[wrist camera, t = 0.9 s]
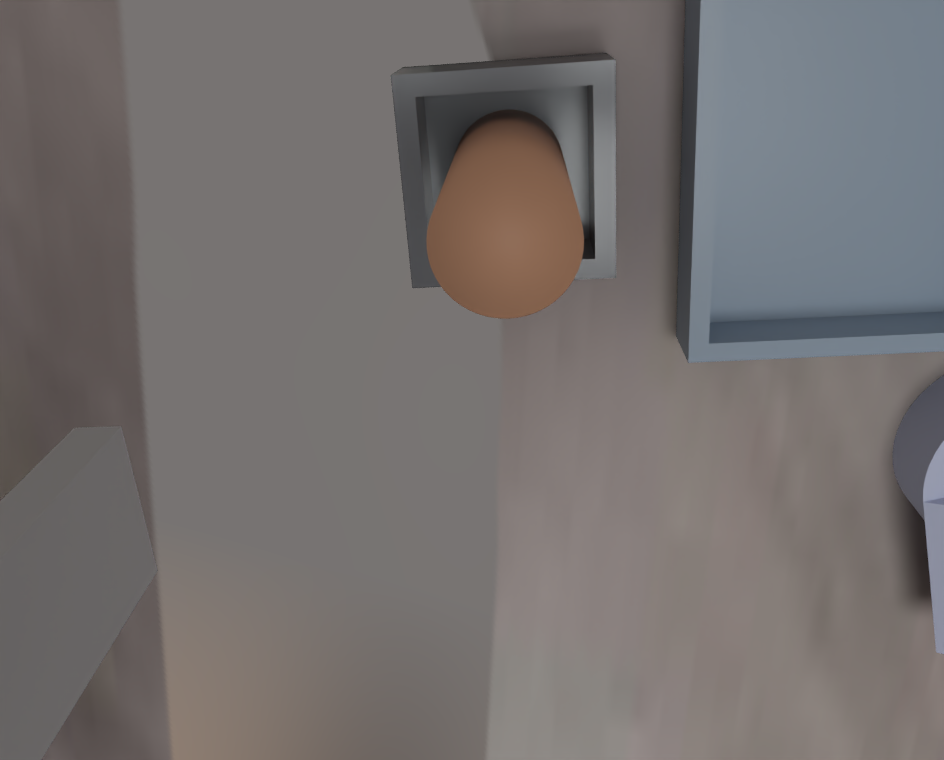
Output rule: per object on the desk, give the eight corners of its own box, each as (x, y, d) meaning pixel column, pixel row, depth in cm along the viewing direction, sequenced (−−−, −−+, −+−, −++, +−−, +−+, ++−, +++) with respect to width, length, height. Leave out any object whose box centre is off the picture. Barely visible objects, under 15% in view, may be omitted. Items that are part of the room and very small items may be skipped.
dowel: (458, 222, 36) (433, 322, 25) (450, 113, 34) (419, 169, 23) (564, 216, 36) (585, 314, 25) (561, 106, 34) (582, 159, 23)
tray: (676, 336, 38) (688, 362, 36) (689, -131, 31) (705, -143, 28) (980, 322, 37) (1017, 348, 35) (1067, -163, 30) (1122, -179, 27)
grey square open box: (421, 262, 38) (412, 288, 34) (402, 67, 34) (390, 75, 31) (607, 252, 37) (616, 277, 34) (606, 53, 34) (615, 59, 31)
